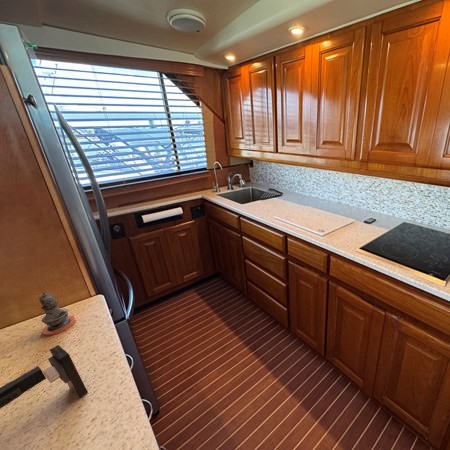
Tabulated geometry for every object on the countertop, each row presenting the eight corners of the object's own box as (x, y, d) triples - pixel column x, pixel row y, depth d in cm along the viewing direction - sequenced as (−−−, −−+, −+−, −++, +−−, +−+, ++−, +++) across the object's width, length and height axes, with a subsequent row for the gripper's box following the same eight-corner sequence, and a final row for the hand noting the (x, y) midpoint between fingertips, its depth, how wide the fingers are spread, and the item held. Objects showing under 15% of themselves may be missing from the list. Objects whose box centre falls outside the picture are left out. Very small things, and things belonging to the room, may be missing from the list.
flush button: (59, 371, 52) (53, 361, 51) (65, 377, 51) (60, 367, 49) (47, 379, 50) (41, 369, 49) (52, 385, 49) (47, 375, 48)
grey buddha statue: (46, 324, 73) (29, 292, 69) (71, 314, 77) (57, 283, 72) (45, 335, 69) (28, 301, 65) (72, 324, 73) (57, 292, 69)
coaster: (36, 333, 71) (35, 331, 70) (64, 315, 77) (64, 314, 77) (55, 337, 69) (54, 336, 69) (82, 318, 76) (82, 317, 76)
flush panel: (77, 382, 56) (58, 344, 52) (88, 392, 54) (68, 353, 50) (65, 391, 54) (44, 352, 50) (75, 401, 52) (54, 362, 48)
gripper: (-196, 512, 33) (37, 371, 52) (-202, 590, 27) (63, 400, 47) (-241, 483, 30) (22, 346, 50) (-258, 563, 25) (47, 373, 44)
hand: (41, 372), depth 48 cm, fingers closed
